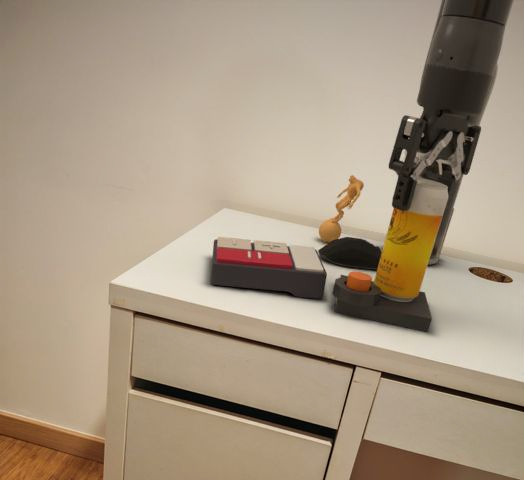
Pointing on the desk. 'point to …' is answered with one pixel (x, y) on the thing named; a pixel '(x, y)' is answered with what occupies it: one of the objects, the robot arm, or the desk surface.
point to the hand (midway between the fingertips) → (419, 208)
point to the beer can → (411, 242)
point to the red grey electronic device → (268, 266)
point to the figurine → (340, 211)
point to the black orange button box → (381, 306)
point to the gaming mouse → (352, 253)
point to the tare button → (359, 281)
